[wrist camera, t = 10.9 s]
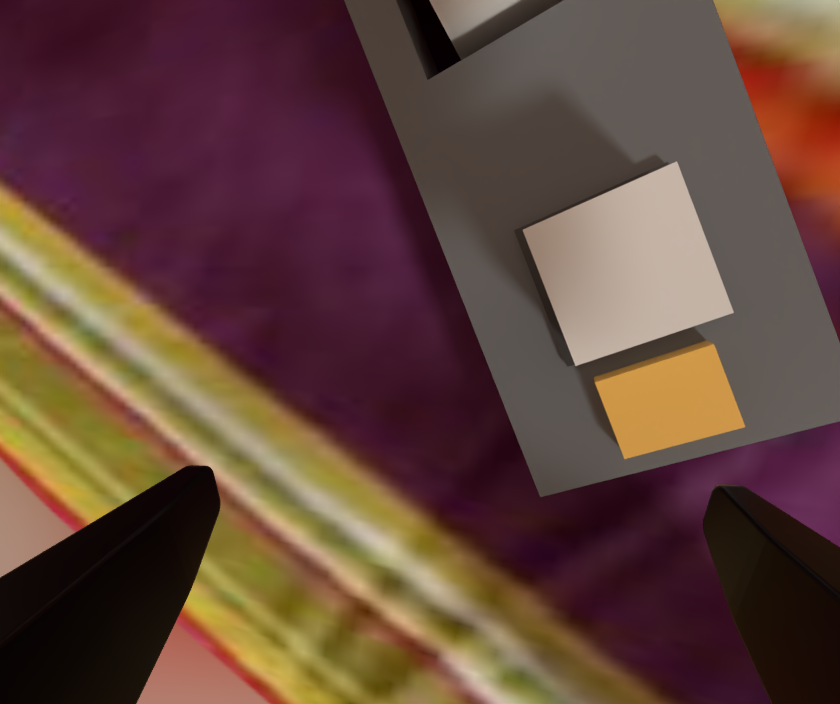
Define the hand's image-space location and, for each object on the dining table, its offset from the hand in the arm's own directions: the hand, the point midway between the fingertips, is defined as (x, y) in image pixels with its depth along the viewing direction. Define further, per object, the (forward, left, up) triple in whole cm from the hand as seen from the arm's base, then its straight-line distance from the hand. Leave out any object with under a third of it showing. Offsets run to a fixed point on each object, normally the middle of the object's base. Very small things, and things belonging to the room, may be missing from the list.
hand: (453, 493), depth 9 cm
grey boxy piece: (+2, -8, -11) cm, 14 cm away
